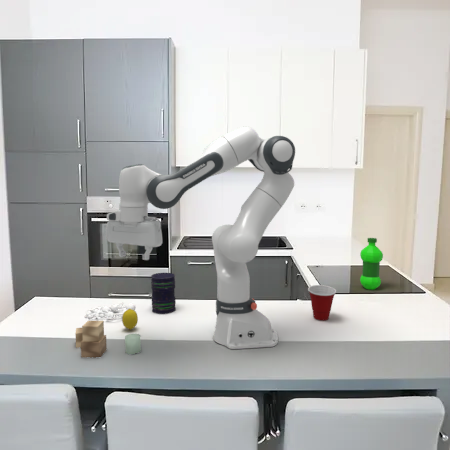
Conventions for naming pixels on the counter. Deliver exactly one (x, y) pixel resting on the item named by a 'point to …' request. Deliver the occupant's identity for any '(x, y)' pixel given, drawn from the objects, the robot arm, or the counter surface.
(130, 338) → the sage green cylinder
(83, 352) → the tower block base
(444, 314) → the counter surface
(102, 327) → the tower block top
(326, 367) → the counter surface
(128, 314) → the lemon
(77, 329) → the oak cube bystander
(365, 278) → the plastic bottle
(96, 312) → the tangled rod sculpture
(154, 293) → the storage jar
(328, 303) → the plastic cup
